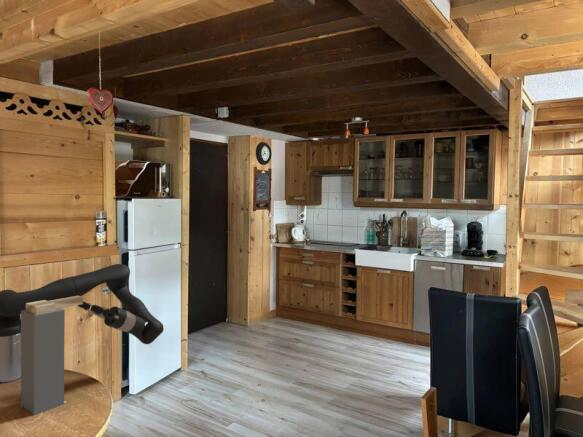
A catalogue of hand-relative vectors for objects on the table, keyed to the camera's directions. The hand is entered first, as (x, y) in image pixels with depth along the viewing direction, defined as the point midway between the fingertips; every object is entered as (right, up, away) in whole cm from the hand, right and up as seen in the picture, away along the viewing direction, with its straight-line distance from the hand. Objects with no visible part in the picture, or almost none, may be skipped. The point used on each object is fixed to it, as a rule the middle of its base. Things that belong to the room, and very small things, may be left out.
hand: (85, 305), depth 155 cm
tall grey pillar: (-9, -31, -10) cm, 34 cm away
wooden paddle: (-6, +1, -8) cm, 10 cm away
